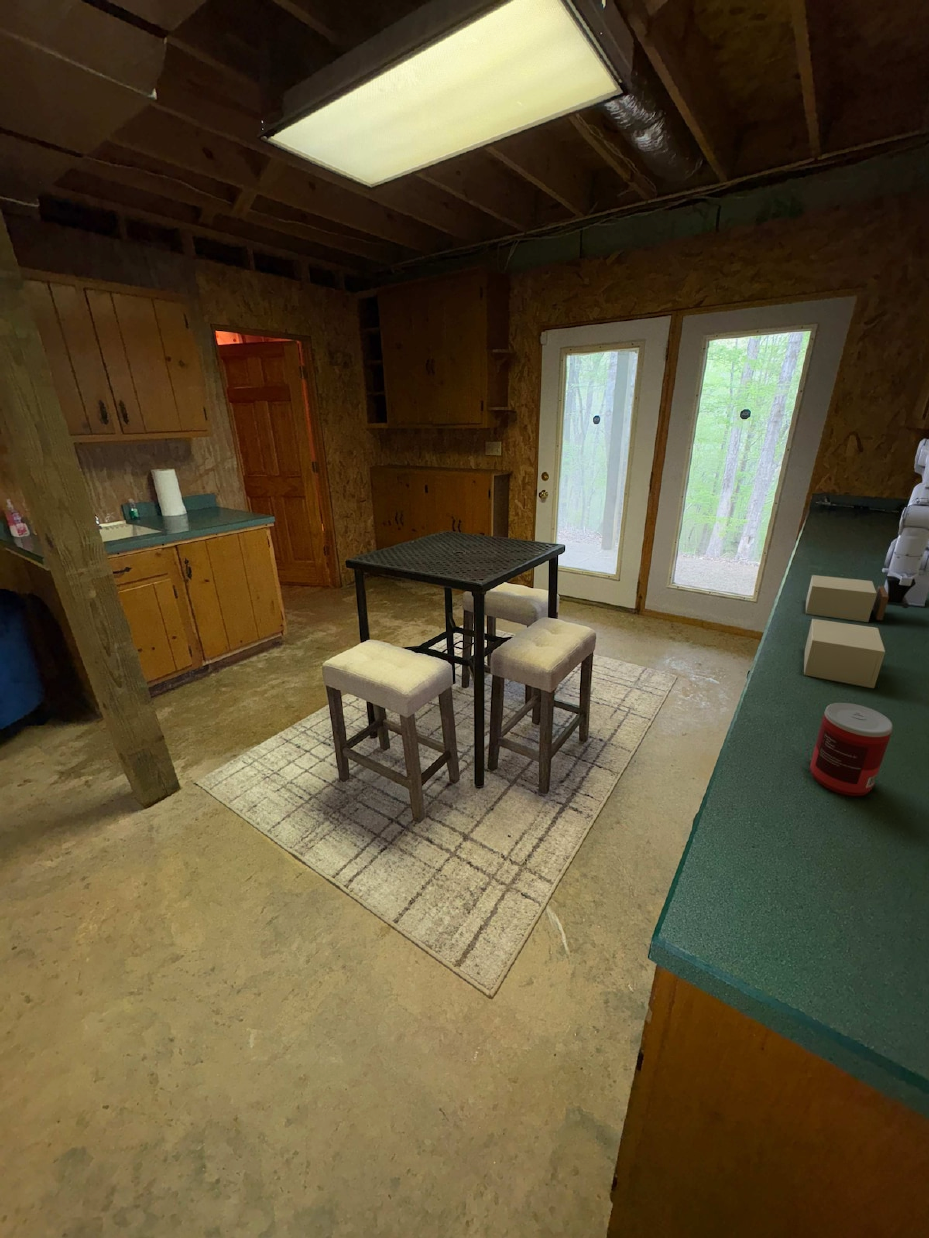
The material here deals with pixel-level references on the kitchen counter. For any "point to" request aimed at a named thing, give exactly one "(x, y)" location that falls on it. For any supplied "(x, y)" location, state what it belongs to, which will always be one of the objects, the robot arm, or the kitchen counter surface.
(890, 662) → the kitchen counter surface
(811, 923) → the kitchen counter surface
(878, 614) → the drawer
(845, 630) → the cardboard box
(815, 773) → the canned food
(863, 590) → the cardboard box
